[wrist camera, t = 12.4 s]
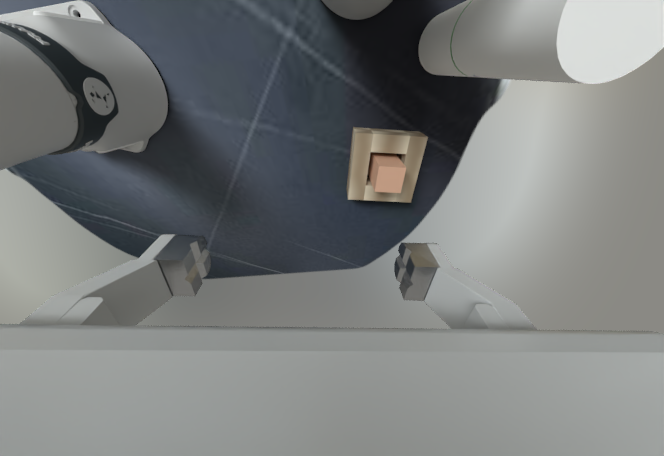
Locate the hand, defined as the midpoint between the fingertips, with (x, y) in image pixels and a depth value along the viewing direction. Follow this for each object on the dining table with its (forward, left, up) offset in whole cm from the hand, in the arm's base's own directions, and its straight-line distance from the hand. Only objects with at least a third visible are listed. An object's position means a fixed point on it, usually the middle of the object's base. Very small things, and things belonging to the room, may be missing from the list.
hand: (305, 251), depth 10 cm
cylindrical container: (+17, +10, -34) cm, 39 cm away
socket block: (+11, -7, -34) cm, 36 cm away
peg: (+11, -7, -34) cm, 36 cm away
